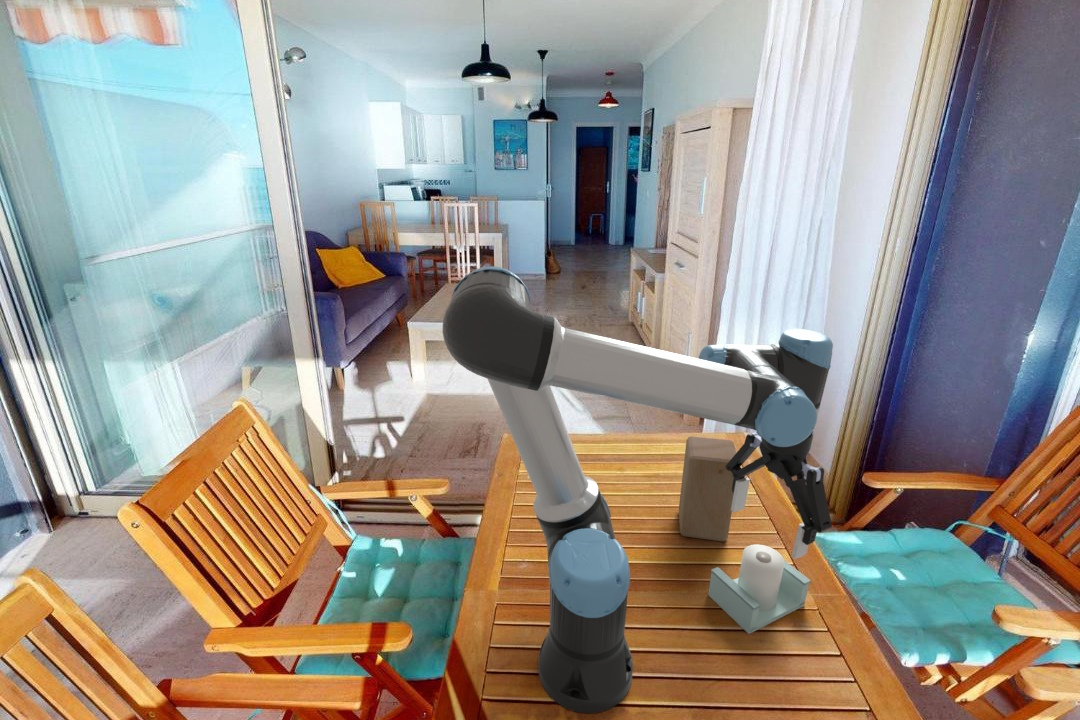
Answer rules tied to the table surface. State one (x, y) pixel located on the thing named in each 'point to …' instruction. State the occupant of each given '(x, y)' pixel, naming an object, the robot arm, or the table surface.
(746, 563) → the roll
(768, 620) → the cradle
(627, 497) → the table surface
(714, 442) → the wooden block
